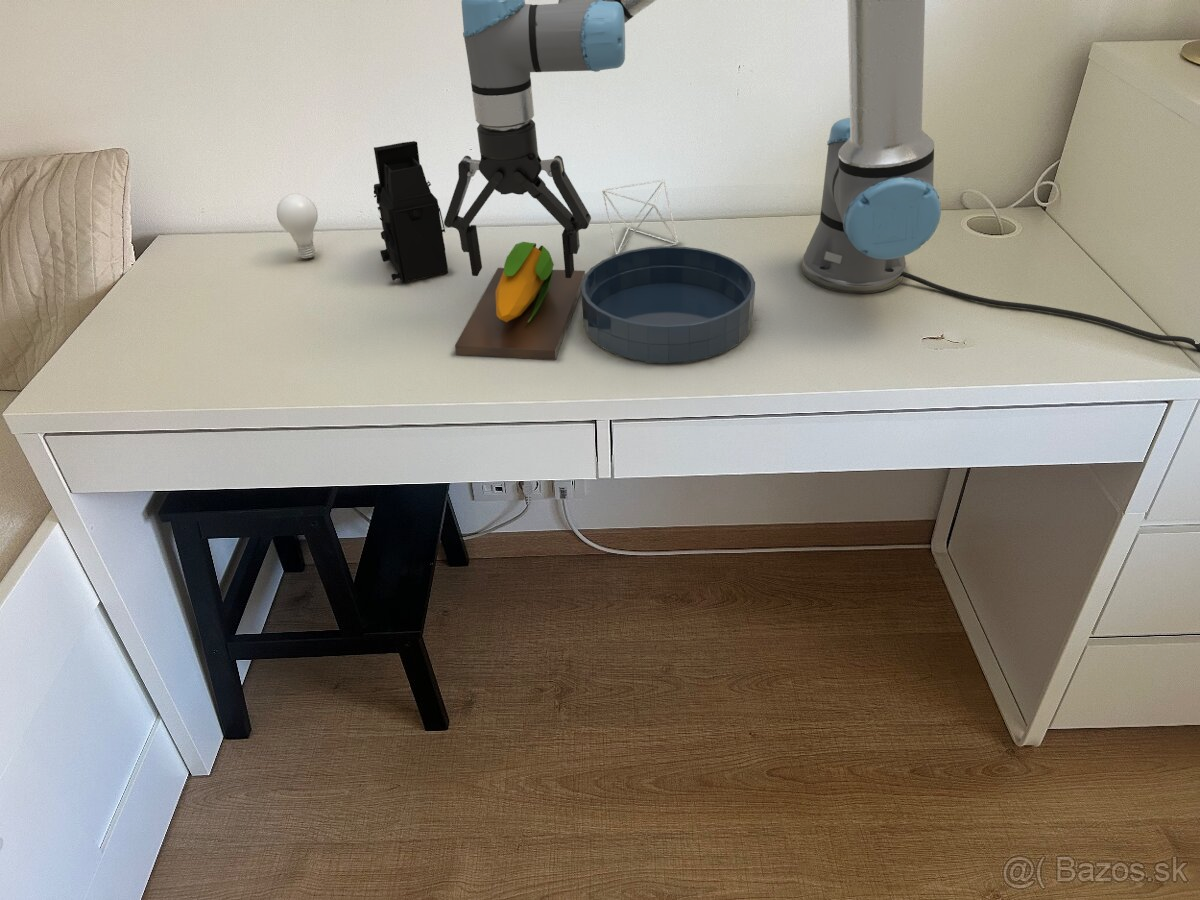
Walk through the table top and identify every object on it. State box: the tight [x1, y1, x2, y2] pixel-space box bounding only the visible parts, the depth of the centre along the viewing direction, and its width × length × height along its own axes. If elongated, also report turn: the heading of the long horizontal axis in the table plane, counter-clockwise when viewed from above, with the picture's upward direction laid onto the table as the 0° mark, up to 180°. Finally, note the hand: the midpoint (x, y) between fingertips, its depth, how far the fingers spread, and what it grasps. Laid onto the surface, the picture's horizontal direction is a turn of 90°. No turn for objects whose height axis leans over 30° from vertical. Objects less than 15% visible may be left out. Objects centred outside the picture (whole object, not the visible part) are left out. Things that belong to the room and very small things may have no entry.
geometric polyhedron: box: [601, 179, 679, 255], centre depth 147 cm, size 12×11×9 cm
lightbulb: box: [276, 193, 319, 260], centre depth 147 cm, size 6×6×11 cm
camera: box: [373, 140, 449, 284], centre depth 141 cm, size 10×14×20 cm
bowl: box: [580, 245, 756, 364], centre depth 127 cm, size 24×24×6 cm
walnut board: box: [454, 267, 586, 361], centre depth 132 cm, size 14×24×2 cm, turn 171°
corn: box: [495, 241, 555, 322], centre depth 129 cm, size 7×8×20 cm
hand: (523, 273), depth 128 cm, fingers open, 13 cm apart
